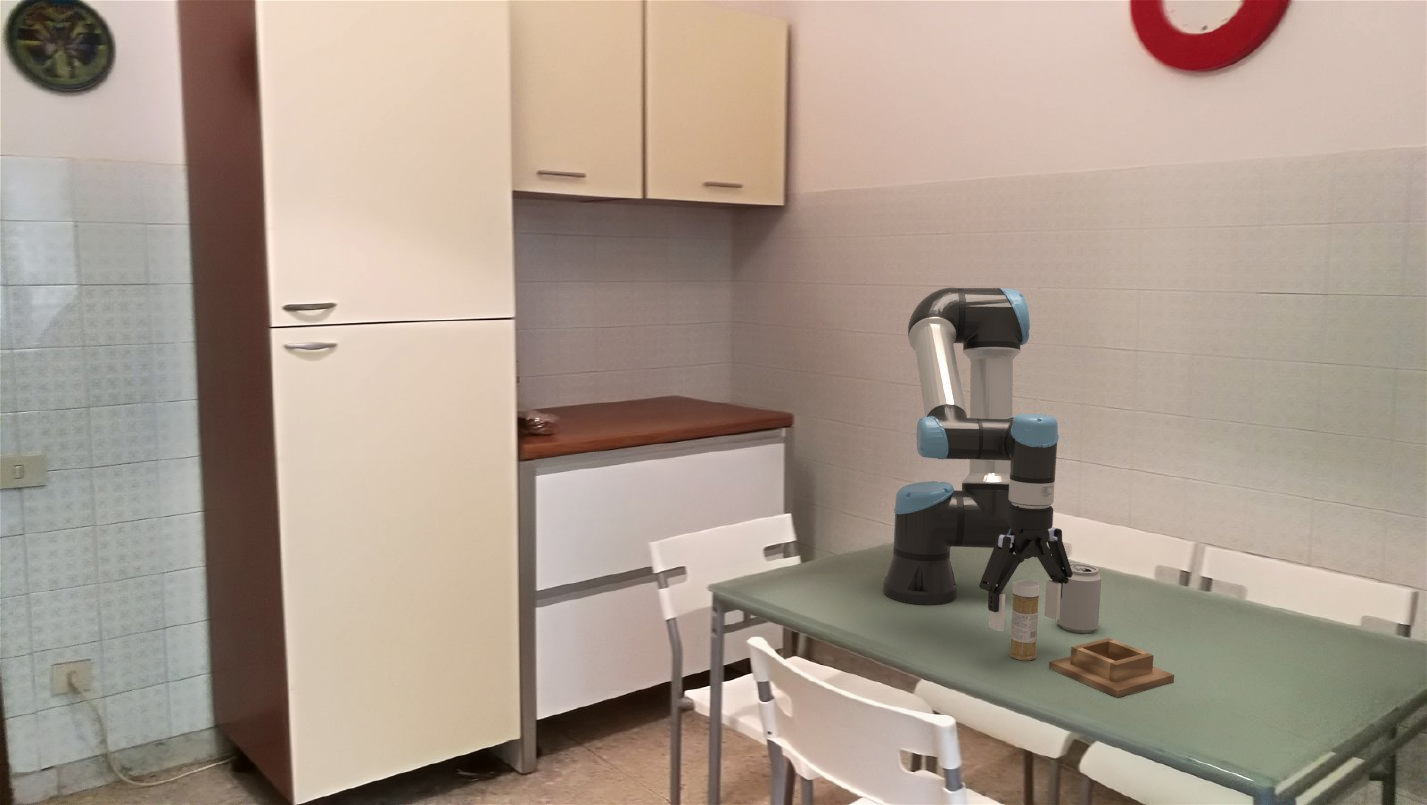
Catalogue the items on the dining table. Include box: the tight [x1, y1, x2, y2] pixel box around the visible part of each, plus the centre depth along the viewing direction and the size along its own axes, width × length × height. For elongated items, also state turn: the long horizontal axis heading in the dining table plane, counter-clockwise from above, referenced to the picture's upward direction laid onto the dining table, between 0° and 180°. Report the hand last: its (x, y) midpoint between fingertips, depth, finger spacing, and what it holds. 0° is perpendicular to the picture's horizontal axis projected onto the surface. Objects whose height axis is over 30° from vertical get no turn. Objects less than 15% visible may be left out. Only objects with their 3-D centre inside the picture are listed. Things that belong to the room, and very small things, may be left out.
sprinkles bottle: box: [1008, 579, 1041, 661], centre depth 181 cm, size 5×5×13 cm
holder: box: [1048, 637, 1175, 699], centre depth 174 cm, size 14×14×4 cm
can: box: [1056, 562, 1102, 634], centre depth 197 cm, size 8×8×12 cm
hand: (1024, 623), depth 181 cm, fingers open, 13 cm apart
